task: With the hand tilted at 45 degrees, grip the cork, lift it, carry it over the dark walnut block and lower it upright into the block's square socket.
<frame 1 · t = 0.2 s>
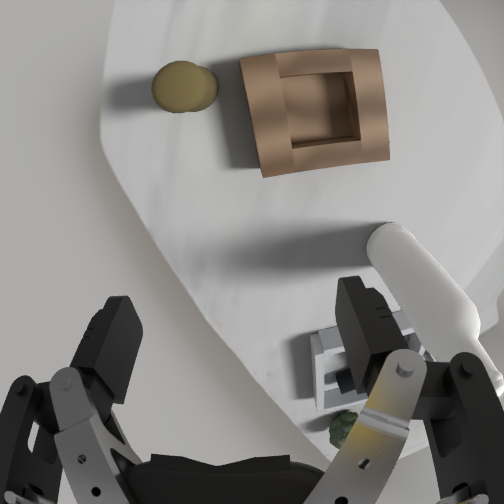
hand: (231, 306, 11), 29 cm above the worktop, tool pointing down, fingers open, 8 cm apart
socket block: (313, 106, 33), on the worktop
bottle: (386, 243, 44), on the worktop
cork: (194, 88, 31), on the worktop
tray rim: (365, 357, 58), on the worktop
vegetable: (348, 415, 73), on the worktop
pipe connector: (364, 356, 58), on the worktop
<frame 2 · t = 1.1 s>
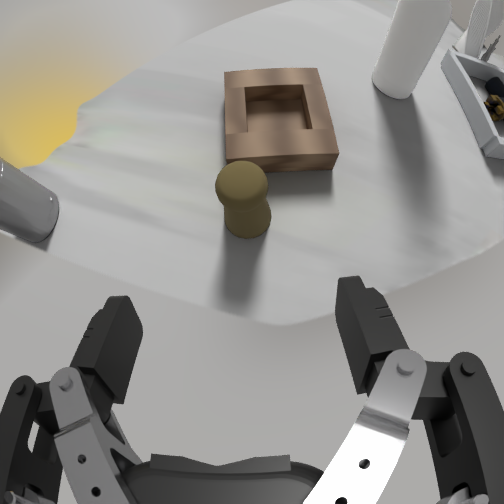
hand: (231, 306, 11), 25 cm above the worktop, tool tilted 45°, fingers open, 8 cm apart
socket block: (276, 124, 40), on the worktop
skyscraper: (465, 55, 44), on the worktop
bottle: (391, 84, 42), on the worktop
cork: (247, 216, 38), on the worktop
tray rim: (496, 113, 40), on the worktop
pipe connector: (497, 114, 41), on the worktop
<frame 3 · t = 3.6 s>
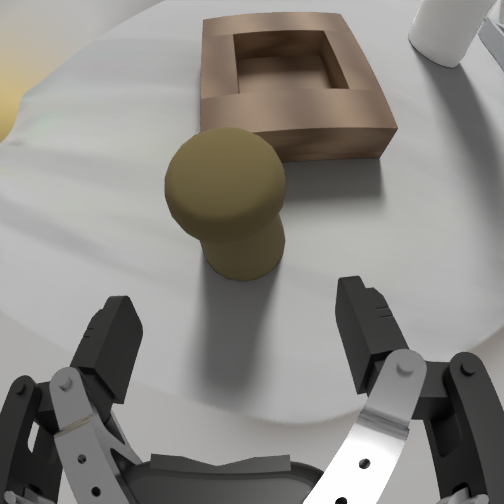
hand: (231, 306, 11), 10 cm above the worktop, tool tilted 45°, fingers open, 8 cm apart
socket block: (285, 90, 24), on the worktop
skyscraper: (497, 30, 29), on the worktop
bottle: (433, 49, 26), on the worktop
cork: (243, 240, 22), on the worktop
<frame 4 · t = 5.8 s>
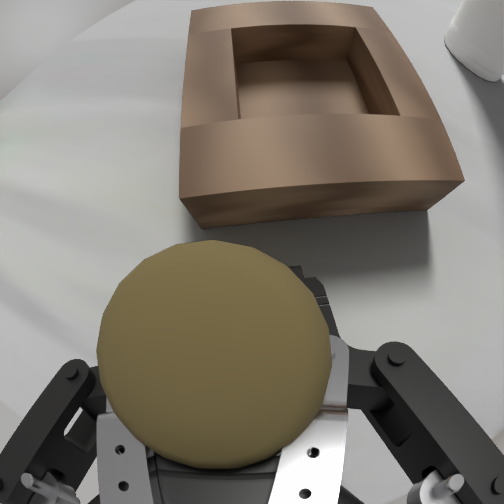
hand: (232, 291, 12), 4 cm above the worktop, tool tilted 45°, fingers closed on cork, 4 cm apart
socket block: (302, 107, 18), on the worktop
bottle: (471, 58, 20), on the worktop
cork: (245, 333, 15), on the worktop, touching gripper
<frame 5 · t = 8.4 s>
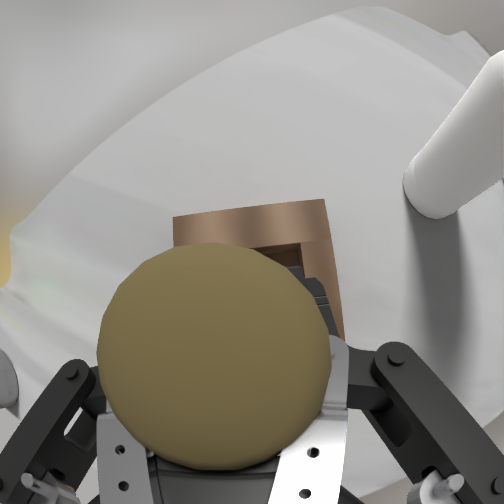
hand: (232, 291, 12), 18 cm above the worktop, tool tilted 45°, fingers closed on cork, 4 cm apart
socket block: (259, 299, 29), on the worktop
bottle: (428, 190, 31), on the worktop
cork: (245, 334, 15), point 13 cm above the worktop, touching gripper
when the fingers open (6 cm above the worktop, at t = 11.2 s): cork moves 1 cm, resting on socket block.
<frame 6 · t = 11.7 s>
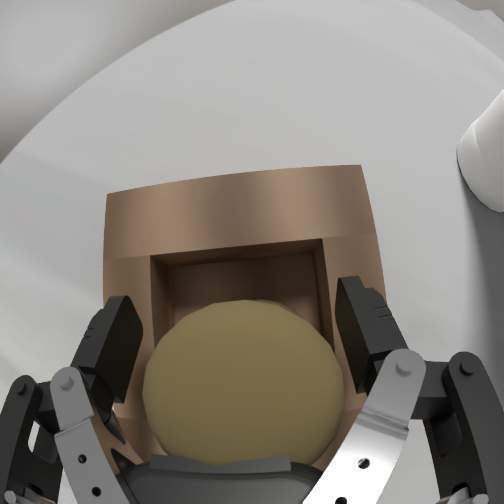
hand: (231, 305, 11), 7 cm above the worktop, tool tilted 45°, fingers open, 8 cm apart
socket block: (247, 331, 17), on the worktop
bottle: (486, 172, 19), on the worktop
cork: (260, 350, 16), point 1 cm above the worktop, touching socket block
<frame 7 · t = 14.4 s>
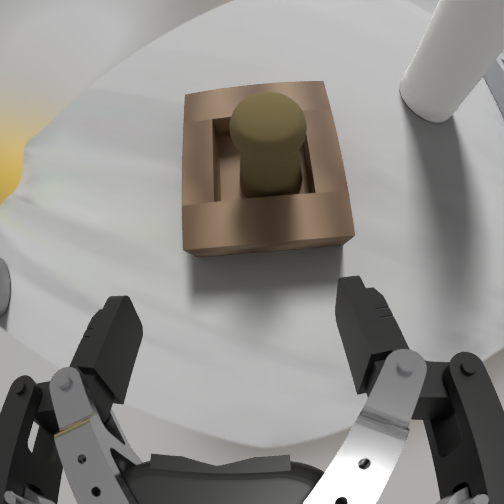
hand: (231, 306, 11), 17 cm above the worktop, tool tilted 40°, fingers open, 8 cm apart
socket block: (263, 172, 29), on the worktop
skyscraper: (503, 56, 30), on the worktop
bottle: (424, 99, 29), on the worktop
cork: (271, 178, 28), point 1 cm above the worktop, touching socket block
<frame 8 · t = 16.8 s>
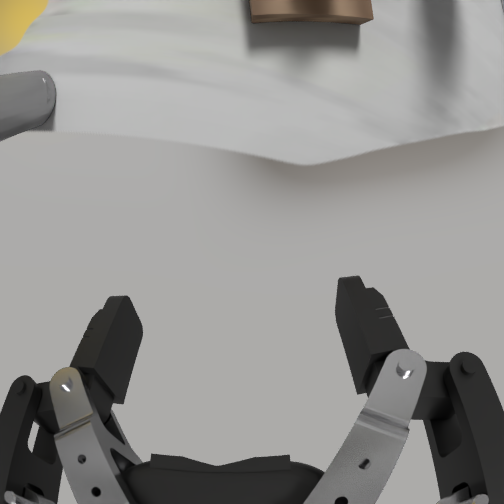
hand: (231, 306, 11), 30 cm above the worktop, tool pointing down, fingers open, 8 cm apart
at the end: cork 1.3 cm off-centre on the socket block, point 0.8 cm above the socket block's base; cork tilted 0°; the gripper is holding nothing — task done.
